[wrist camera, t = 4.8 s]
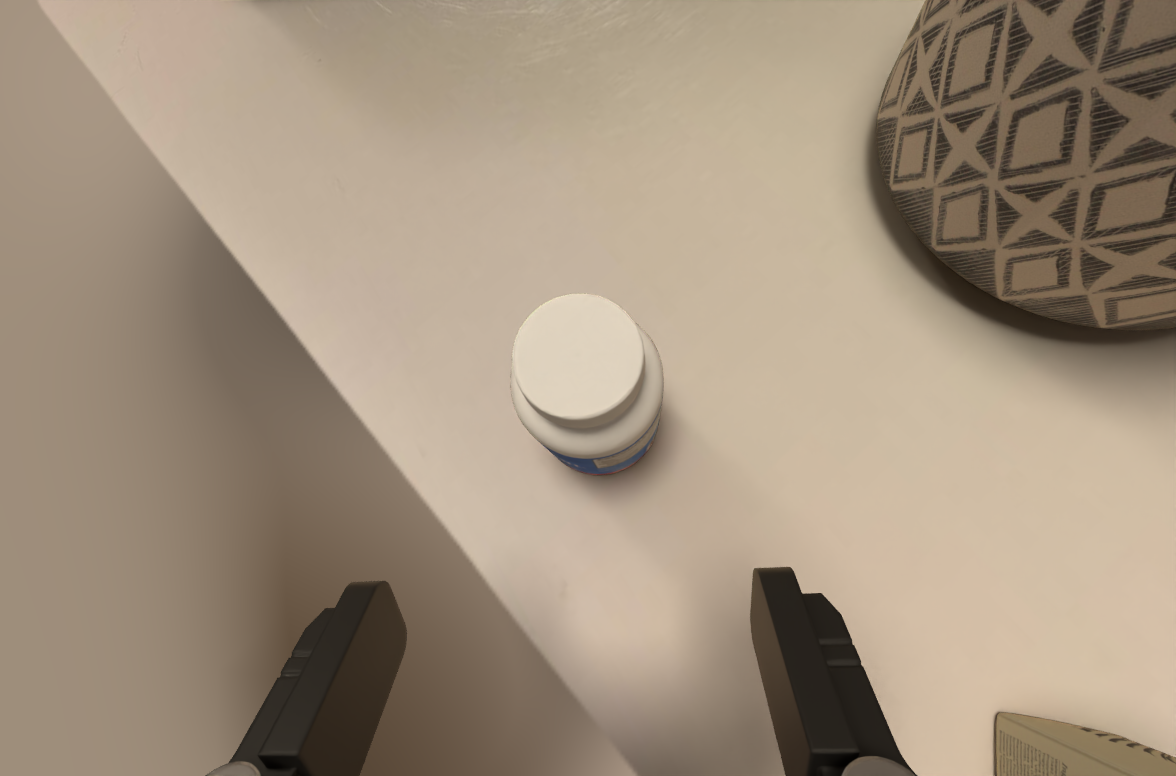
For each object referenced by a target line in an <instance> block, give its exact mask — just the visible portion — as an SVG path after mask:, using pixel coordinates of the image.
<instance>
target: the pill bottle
mask: <svg viewBox="0 0 1176 776" xmlns="http://www.w3.org/2000/svg"><path fill="white" fill-rule="evenodd" d="M663 387H664V377H663V367H662V362H661V359H660V356H659V353H658V351H657V349H656V347H655V345H654V343H653V341H652V340H651V338H650V337H649V335H648V334H647V333H646V332H645V331H644V330H643V329H642V328H641V327H640V326H639V325H638V324H637V323H635V322H634V321H633V319H632V318H631V317H630V316H629V314H628V313H627V312H626V311H625V310H623V309H622V308H621V307H620V306H618V305H617V304H615V303H614V302H612V301H610V300H608V299H606V298H603V297H600V296H597V295H593V294H585V293H584V294H582V293H576V294H568V295H564V296H560V297H557V298H554V299H552V300H550V301H548V302H546V303H544V304H542V305H541V306H540V307H538V308H537V309H536V310H534V311H533V312H532V313H531V314H530V315H529V316H528V318H527V319H526V320H525V322H524V323H523V324H522V326H521V328H520V329H519V331H518V333H517V336H516V339H515V341H514V345H513V351H512V370H511V396H512V401H513V404H514V407H515V410H516V413H517V415H518V417H519V418H520V420H521V422H522V423H523V425H524V426H525V427H526V429H527V430H528V431H529V432H530V433H531V434H532V436H533V437H534V438H536V439H537V440H538V441H539V442H540V443H541V444H542V445H543V446H544V447H546V448H547V449H548V450H549V451H550V452H551V453H552V454H553V455H555V456H556V457H557V458H558V459H559V460H560V461H561V462H563V463H564V464H565V465H567V466H569V467H570V468H572V469H574V470H577V471H580V472H583V473H587V474H592V475H605V474H612V473H616V472H619V471H622V470H624V469H626V468H628V467H630V466H631V465H633V464H634V463H636V462H637V461H638V460H639V459H640V458H641V457H642V456H643V455H644V454H645V453H646V452H647V451H648V449H649V448H650V446H651V445H652V443H653V440H654V438H655V435H656V432H657V429H658V424H659V418H660V412H661V406H662V398H663Z"/></svg>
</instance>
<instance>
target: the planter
mask: <svg viewBox="0 0 1176 776" xmlns="http://www.w3.org/2000/svg"><path fill="white" fill-rule="evenodd" d="M877 148H878V155H879V161H880V165H881V169H882V173H883V177H884V179H885V182H886V185H887V188H888V190H889V192H890V194H891V197H892V199H893V201H894V203H895V205H896V206H897V208H898V210H899V212H900V213H901V215H902V217H903V218H904V219H905V221H906V222H907V224H908V225H909V227H910V228H911V229H912V231H913V232H914V233H915V234H916V236H917V237H918V238H919V239H920V240H921V241H922V242H923V243H924V245H925V246H926V247H927V248H928V249H929V250H930V251H931V252H932V253H933V254H934V255H935V256H936V257H938V258H939V259H940V260H941V261H942V262H943V263H944V264H946V265H947V266H948V267H949V268H951V269H952V270H953V271H954V272H956V273H957V274H958V275H960V276H961V277H963V278H964V279H966V280H967V281H968V282H970V283H971V284H973V285H975V286H976V287H978V288H980V289H981V290H983V291H985V292H987V293H988V294H990V295H992V296H994V297H996V298H998V299H1000V300H1002V301H1004V302H1007V303H1009V304H1011V305H1013V306H1016V307H1018V308H1021V309H1023V310H1026V311H1029V312H1031V313H1034V314H1037V315H1040V316H1044V317H1047V318H1050V319H1054V320H1058V321H1062V322H1066V323H1071V324H1076V325H1082V326H1088V327H1094V328H1104V329H1114V330H1157V329H1167V328H1176V0H926V1H925V3H924V5H923V7H922V9H921V11H920V13H919V15H918V17H917V19H916V21H915V23H914V25H913V28H912V30H911V32H910V34H909V36H908V38H907V40H906V42H905V44H904V46H903V48H902V50H901V52H900V54H899V56H898V59H897V61H896V63H895V65H894V67H893V69H892V71H891V73H890V75H889V77H888V80H887V82H886V85H885V88H884V91H883V94H882V97H881V102H880V106H879V112H878V119H877Z"/></svg>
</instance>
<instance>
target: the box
mask: <svg viewBox="0 0 1176 776" xmlns="http://www.w3.org/2000/svg"><path fill="white" fill-rule="evenodd" d="M996 756H997V776H1176V758H1175V757H1173V756H1170V755H1168V754H1165V753H1163V752H1160V751H1157V750H1154V749H1152V748H1149V747H1146V746H1144V745H1141V744H1139V743H1136V742H1134V741H1131V740H1129V739H1126V738H1124V737H1121V736H1119V735H1115V734H1111V733H1106V732H1102V731H1098V730H1094V729H1089V728H1085V727H1080V726H1076V725H1071V724H1067V723H1062V722H1057V721H1052V720H1047V719H1042V718H1036V717H1030V716H1024V715H1017V714H1011V713H999V714H998V716H997V722H996Z"/></svg>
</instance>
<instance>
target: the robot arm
mask: <svg viewBox="0 0 1176 776" xmlns="http://www.w3.org/2000/svg"><path fill="white" fill-rule="evenodd" d="M750 623H751V633H752V639H753V645H754V649H755V653H756V657H757V661H758V665H759V669H760V673H761V678H762V682H763V686H764V690H765V694H766V698H767V702H768V706H769V710H770V714H771V718H772V722H773V726H774V730H775V735H776V739H777V743H778V747H779V751H780V755H781V759H782V763H783V767H784V771H785V775H786V776H917V775H916V774H915V773H914V772H913V771H912V769H911V768H910V767H909V766H908V764H907V763H906V762H905V760H904V758H903V757H902V755H901V754H900V752H899V750H898V748H897V745H896V743H895V741H894V738H893V736H892V734H891V731H890V729H889V726H888V724H887V722H886V719H885V717H884V715H883V712H882V710H881V708H880V705H879V703H878V700H877V698H876V696H875V693H874V691H873V689H872V686H871V684H870V682H869V679H868V677H867V674H866V672H865V670H864V667H862V665H861V660H860V658H859V656H858V653H857V651H856V648H855V646H854V645H853V644H852V639H851V637H850V634H849V632H848V630H847V627H846V625H845V622H844V620H843V618H842V615H841V614H840V613H839V612H838V611H837V610H836V608H835V607H834V606H833V605H832V604H831V603H830V602H829V601H828V600H827V599H826V598H825V597H824V595H823V594H822V593H812V594H802V593H801V590H800V587H799V584H798V582H797V579H796V576H795V574H794V571H793V570H792V568H791V567H775V568H755V569H754V571H753V581H752V596H751V611H750ZM406 640H407V632H406V625H405V622H404V620H403V617H402V614H401V612H400V609H399V607H398V604H397V602H396V600H395V597H394V595H393V592H392V590H391V587H390V585H389V584H388V582H386V581H373V582H372V581H369V582H353V583H350V584H349V585H348V586H347V587H346V588H345V590H344V592H343V594H342V596H341V598H340V600H339V602H338V603H337V605H336V607H335V608H326V609H324V611H322V613H321V614H320V615H319V616H318V617H317V618H316V619H315V620H314V621H313V622H312V623H311V624H310V625H309V626H308V627H307V628H306V629H305V630H304V632H303V634H302V636H301V637H300V639H299V641H298V643H297V644H296V646H295V648H294V650H293V652H292V656H291V658H289V659H288V660H287V662H286V664H285V666H284V668H283V669H282V671H281V676H280V678H277V680H276V682H275V683H274V686H273V687H272V689H271V691H270V692H269V694H268V696H267V698H266V699H265V701H264V703H263V705H262V707H261V708H260V710H259V712H258V714H257V715H256V718H255V719H254V721H253V723H252V724H251V726H250V728H249V730H248V731H247V733H246V735H245V737H244V739H243V740H242V742H241V744H240V746H239V748H238V749H237V751H236V753H235V754H234V756H233V757H232V759H231V760H230V761H229V763H228V764H225V765H223V766H221V767H219V768H217V769H215V770H213V771H212V772H210V773H209V774H207V775H206V776H359V775H360V772H361V770H362V767H363V764H364V762H365V758H366V756H367V753H368V751H369V748H370V745H371V742H372V740H373V737H374V734H375V732H376V729H377V726H378V723H379V721H380V718H381V715H382V712H383V709H384V707H385V704H386V701H387V699H388V696H389V693H390V690H391V688H392V685H393V682H394V680H395V677H396V674H397V672H398V669H399V666H400V663H401V661H402V658H403V655H404V651H405V648H406Z"/></svg>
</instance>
